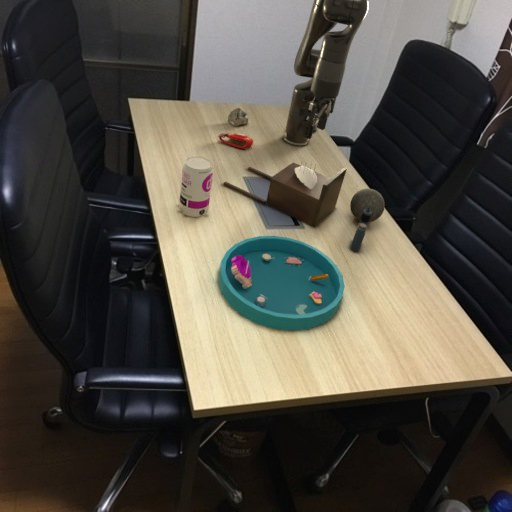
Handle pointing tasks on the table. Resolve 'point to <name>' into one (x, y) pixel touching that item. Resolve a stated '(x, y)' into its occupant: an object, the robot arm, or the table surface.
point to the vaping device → (361, 230)
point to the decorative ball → (367, 204)
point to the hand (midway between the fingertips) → (314, 133)
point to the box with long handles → (299, 194)
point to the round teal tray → (281, 283)
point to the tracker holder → (237, 137)
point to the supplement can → (195, 186)
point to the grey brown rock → (237, 117)
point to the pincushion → (306, 176)
